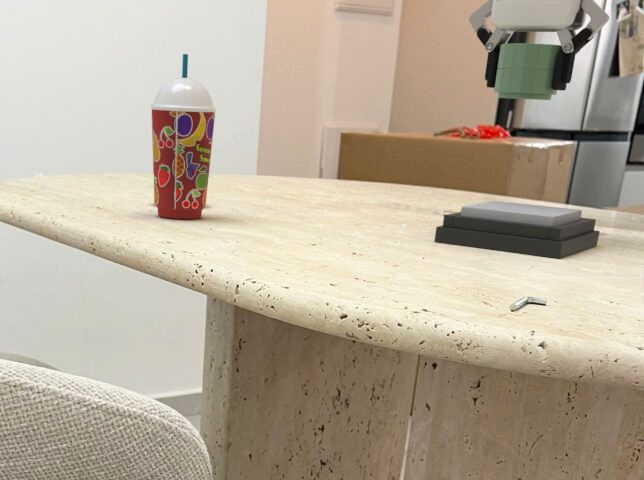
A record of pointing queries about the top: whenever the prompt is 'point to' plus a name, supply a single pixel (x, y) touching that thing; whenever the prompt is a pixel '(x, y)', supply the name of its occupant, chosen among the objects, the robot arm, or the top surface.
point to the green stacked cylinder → (526, 71)
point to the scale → (518, 235)
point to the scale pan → (522, 213)
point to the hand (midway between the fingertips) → (525, 87)
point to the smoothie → (182, 146)
